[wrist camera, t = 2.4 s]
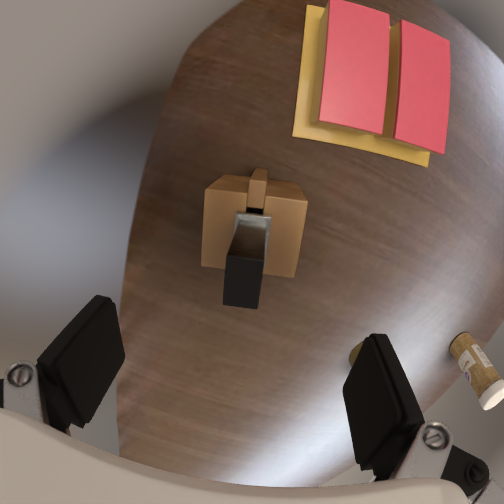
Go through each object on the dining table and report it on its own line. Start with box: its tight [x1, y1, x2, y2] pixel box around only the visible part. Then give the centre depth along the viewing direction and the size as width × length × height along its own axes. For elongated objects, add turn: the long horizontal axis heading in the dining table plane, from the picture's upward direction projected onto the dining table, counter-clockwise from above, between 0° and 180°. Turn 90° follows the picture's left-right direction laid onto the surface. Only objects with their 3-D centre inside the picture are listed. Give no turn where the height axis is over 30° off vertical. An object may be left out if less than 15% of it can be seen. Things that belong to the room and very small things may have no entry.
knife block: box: [201, 168, 308, 278], centre depth 24 cm, size 7×8×8 cm
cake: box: [292, 0, 450, 167], centre depth 19 cm, size 15×15×5 cm
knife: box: [223, 208, 272, 309], centre depth 21 cm, size 2×4×16 cm, turn 173°
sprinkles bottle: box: [450, 333, 504, 410], centre depth 28 cm, size 5×5×14 cm
